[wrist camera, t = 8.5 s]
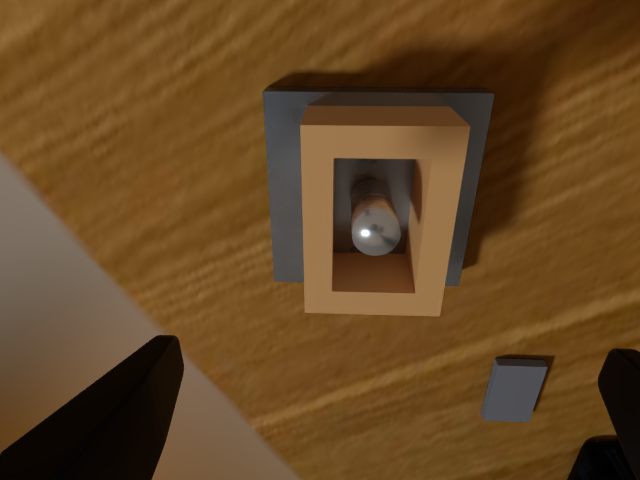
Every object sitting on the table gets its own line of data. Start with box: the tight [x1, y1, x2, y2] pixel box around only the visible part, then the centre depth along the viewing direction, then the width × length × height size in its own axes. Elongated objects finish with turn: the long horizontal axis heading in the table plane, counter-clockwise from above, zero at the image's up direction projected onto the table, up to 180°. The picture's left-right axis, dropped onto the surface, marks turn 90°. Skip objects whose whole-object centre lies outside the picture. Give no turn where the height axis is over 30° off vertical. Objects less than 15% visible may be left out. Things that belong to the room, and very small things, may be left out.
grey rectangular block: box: [481, 358, 548, 422], centre depth 23 cm, size 4×2×1 cm, turn 0°
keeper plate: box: [263, 87, 495, 286], centre depth 16 cm, size 8×8×4 cm
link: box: [300, 106, 470, 316], centre depth 16 cm, size 7×5×3 cm
